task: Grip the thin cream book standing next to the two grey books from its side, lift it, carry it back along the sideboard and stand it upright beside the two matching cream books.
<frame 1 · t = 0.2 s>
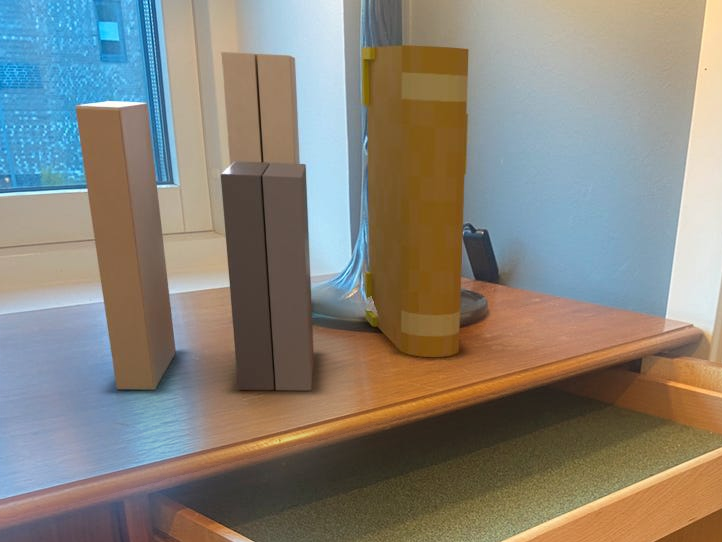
cream books: (275, 308, 106), on the table
book: (414, 338, 98), on the table
cream book: (148, 370, 82), on the table
grey books: (278, 371, 84), on the table
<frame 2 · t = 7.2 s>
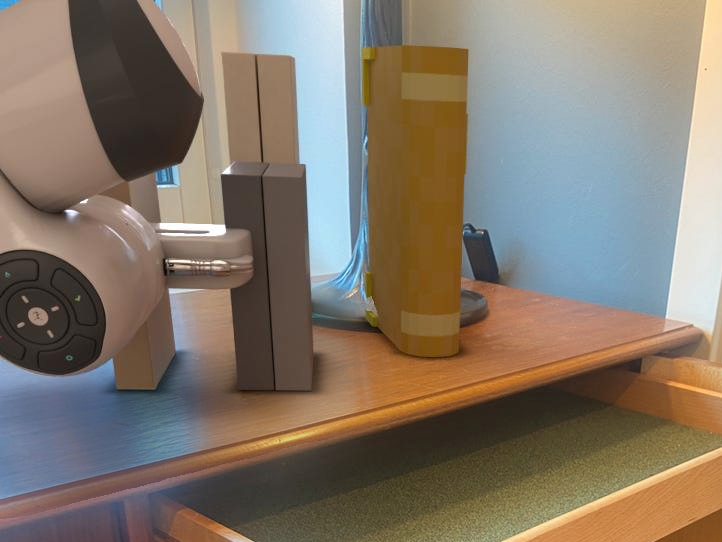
hand: (132, 237, 78), 11 cm above the table, tool horizontal, fingers closed on cream book, 3 cm apart
cream book: (148, 369, 82), on the table, touching gripper
everything else where it was.
when the fingers open (10 cm above the table, at t = 19.5 s): cream book stays where it is, on the table.
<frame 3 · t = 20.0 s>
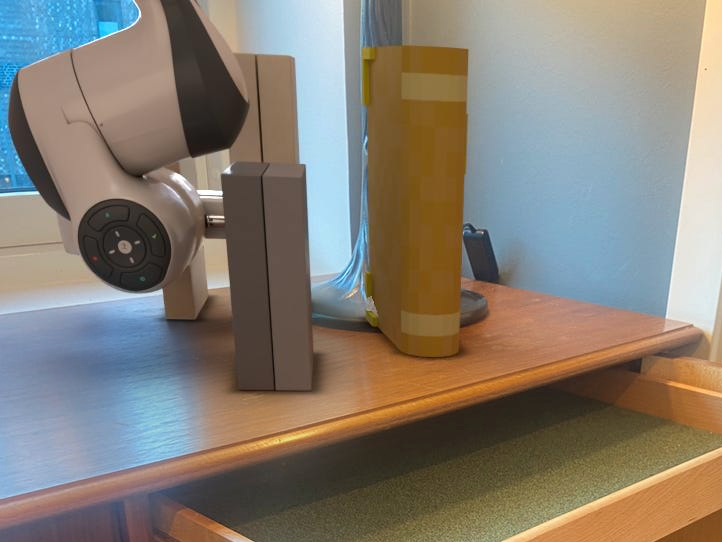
hand: (176, 203, 100), 10 cm above the table, tool horizontal, fingers open, 8 cm apart
cream book: (188, 307, 104), on the table
everything else where it was.
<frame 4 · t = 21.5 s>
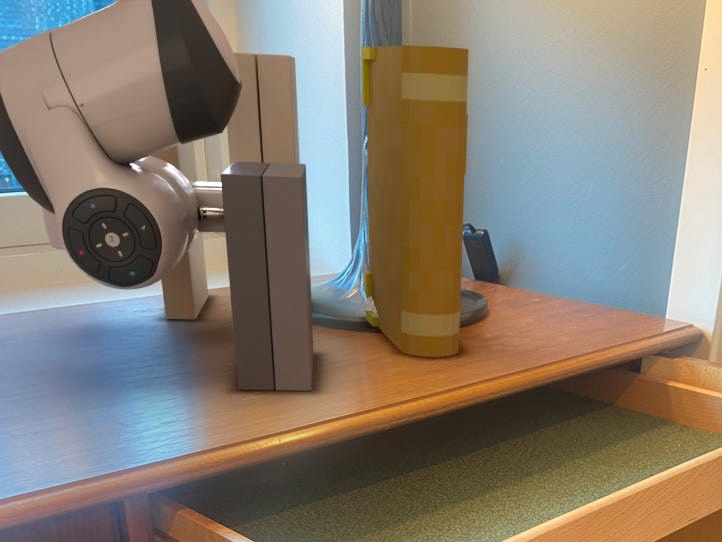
hand: (168, 195, 96), 11 cm above the table, tool horizontal, fingers open, 8 cm apart
nothing on the table moved.
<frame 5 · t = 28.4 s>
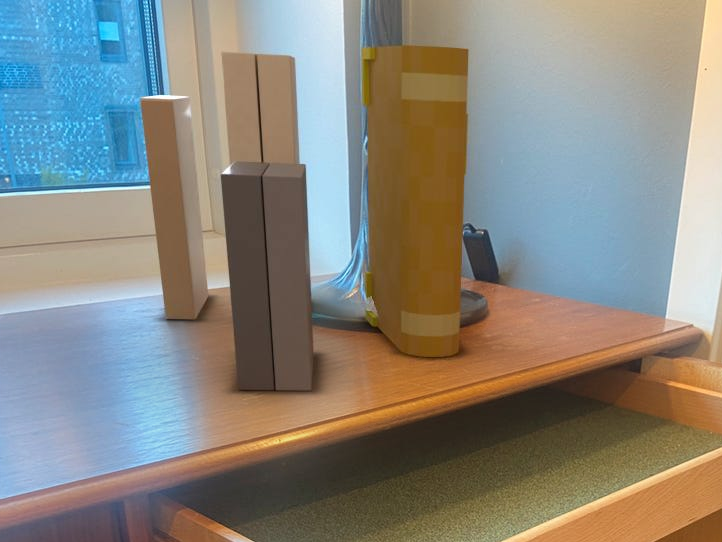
nothing on the table moved.
at the end: cream book 0.1 cm from the target spot on the table beside the cream books, on the table; cream book tilted 0°; the gripper is holding nothing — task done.
